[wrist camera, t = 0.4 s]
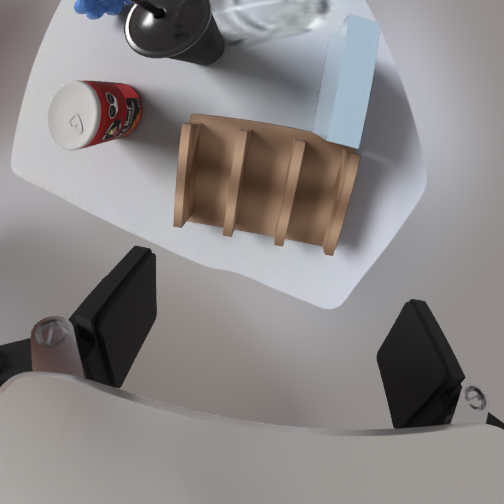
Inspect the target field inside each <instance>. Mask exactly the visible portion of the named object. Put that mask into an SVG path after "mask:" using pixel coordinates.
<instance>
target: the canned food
mask: <svg viewBox="0 0 504 504" xmlns="http://www.w3.org/2000/svg"><path fill="white" fill-rule="evenodd" d="M141 115H142V103H141V99H140V97H139V95H138V94H137V92H136V91H135V90H134V89H133V88H131V87H130V86H128V85H126V84H123V83H113V82H101V81H72V82H68V83H65V84H64V85H62V86H61V87H60V88H59V89H58V90H57V91H56V92H55V94H54V95H53V97H52V99H51V101H50V104H49V107H48V113H47V124H48V129H49V133H50V135H51V137H52V139H53V140H54V142H55V143H56V144H57V145H58V146H59V147H61V148H62V149H65V150H78V149H82V148H86V147H89V146H93V145H96V144H100V143H103V142H107V141H111V140H114V139H118V138H122V137H124V136H127V135H128V134H130V133H131V132H132V131H133V130H134V129H135V128H136V126H137V125H138V123H139V121H140V119H141Z"/></svg>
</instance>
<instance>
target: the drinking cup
mask: <svg viewBox="0 0 504 504" xmlns="http://www.w3.org/2000/svg"><path fill="white" fill-rule="evenodd" d="M129 1H131V2H133V3H134V4H133V5H132V7H131V8H130V10H129V12H128V14H127V17H126V20H125V26H124V33H125V38H126V40H127V43H128V44H129V46H130V47H131V48H132V49H133V50H134V51H135V52H136V53H138V54H140V55H142V56H145V57H149V58H171V59H176V60H181V61H186V62H190V63H195V64H199V65H207V64H211V63H213V62H215V61H216V60H218V59H219V58H220V56H221V55H222V53H223V51H224V41H223V39H222V36H221V34H220V31H219V29H218V27H217V24H216V22H215V20H214V17H213V15H212V9H211V4H210V1H209V0H129Z"/></svg>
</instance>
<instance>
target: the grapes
mask: <svg viewBox="0 0 504 504" xmlns="http://www.w3.org/2000/svg"><path fill="white" fill-rule="evenodd" d="M124 1H125V2H126V3H129V4H133V2H131V1H129V0H77V1H76V2H75V5H74V9H75V12H77V13H78V14H85V13H86V15H87V17H88V18H89V19H94V20H95V19H99V18H100V17H102V16H103V14H104V13H105V12H106V13H107V14H108V15H117V14H119V13H120V12H121V11H122V9H123V7H124Z"/></svg>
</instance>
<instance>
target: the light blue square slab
mask: <svg viewBox="0 0 504 504" xmlns="http://www.w3.org/2000/svg"><path fill="white" fill-rule="evenodd" d="M380 25H381V24H380V23H377V22H374V21H371V20H368V19H365V18H362V17H359V16H355V15H352V14H349V15H348V16H347V18H346V19H345V20H344V22H343V23H342V25H341V26H340V27H339V29H338V30H337V31H336V33H335V34H334V36H333V37H332V38H331V40H330V41H329V43H328V47H327V53H326V59H325V64H324V70H323V76H322V81H321V87H320V92H319V97H318V103H317V108H316V113H315V118H314V123H313V128H312V132H313V133H314V134H316V135H318V136H320V137H321V138H323V139H325V140H326V141H330V142H334V143H338V144H342V145H345V146H349V147H353V148H357V149H359V145H360V140H361V136H362V131H363V126H364V122H365V117H366V112H367V107H368V102H369V97H370V91H371V86H372V80H373V74H374V68H375V62H376V55H377V49H378V41H379V34H380Z"/></svg>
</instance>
